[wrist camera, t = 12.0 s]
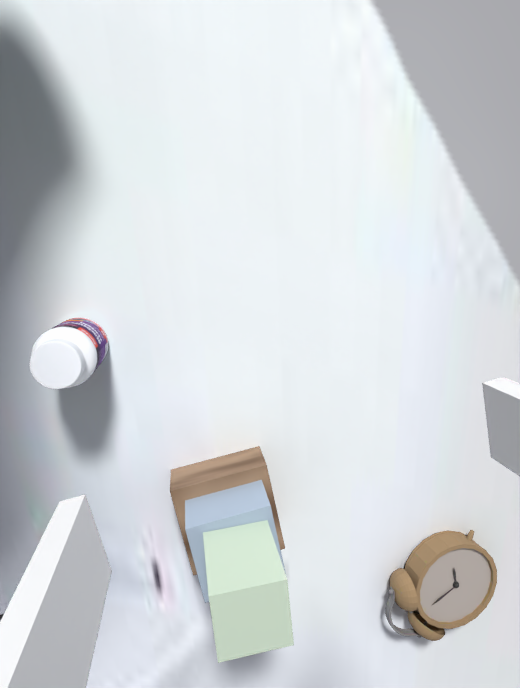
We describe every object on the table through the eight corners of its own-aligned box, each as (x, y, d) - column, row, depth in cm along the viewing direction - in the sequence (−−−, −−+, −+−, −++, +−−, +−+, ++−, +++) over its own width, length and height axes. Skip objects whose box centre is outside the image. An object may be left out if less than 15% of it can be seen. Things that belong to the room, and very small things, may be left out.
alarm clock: (512, 588, 58) (426, 673, 55) (482, 566, 63) (401, 644, 60) (475, 524, 55) (383, 610, 52) (447, 506, 60) (360, 585, 57)
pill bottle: (116, 327, 47) (100, 346, 37) (98, 376, 47) (77, 407, 38) (63, 308, 46) (31, 322, 36) (45, 358, 46) (10, 385, 37)
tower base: (171, 468, 51) (169, 491, 46) (258, 445, 52) (266, 464, 47) (192, 546, 53) (193, 575, 48) (276, 522, 54) (285, 548, 50)
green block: (202, 532, 42) (208, 596, 34) (267, 519, 43) (287, 579, 35) (210, 589, 43) (218, 662, 36) (273, 575, 44) (293, 644, 36)
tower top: (184, 500, 47) (185, 529, 42) (261, 479, 48) (270, 505, 43) (202, 567, 48) (205, 602, 44) (276, 546, 49) (286, 578, 44)
